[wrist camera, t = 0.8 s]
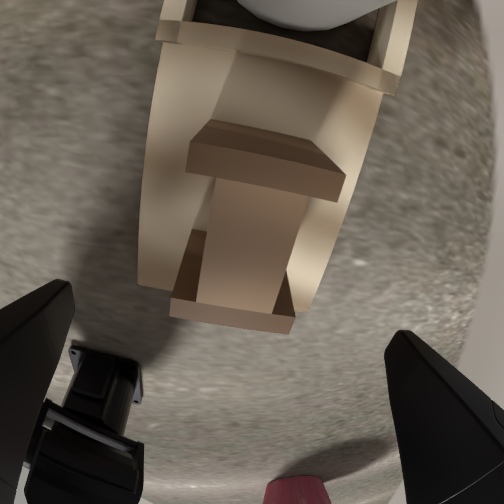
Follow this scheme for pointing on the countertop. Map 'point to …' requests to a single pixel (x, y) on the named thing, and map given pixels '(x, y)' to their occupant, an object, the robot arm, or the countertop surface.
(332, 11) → the can
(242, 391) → the countertop surface
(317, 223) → the wooden divided tray
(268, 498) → the plant pot
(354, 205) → the countertop surface
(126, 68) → the countertop surface
